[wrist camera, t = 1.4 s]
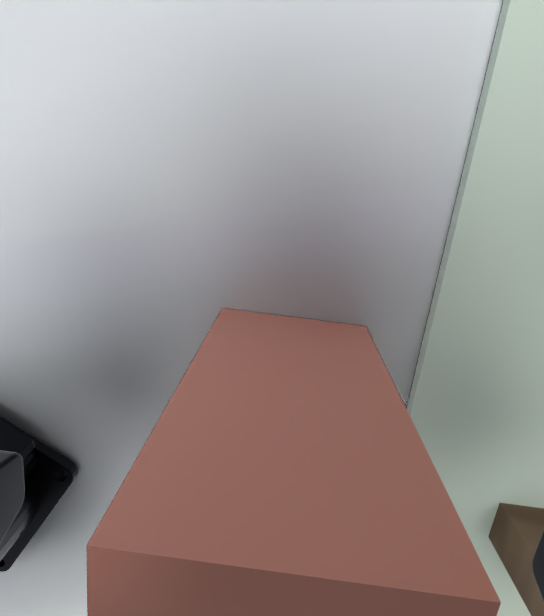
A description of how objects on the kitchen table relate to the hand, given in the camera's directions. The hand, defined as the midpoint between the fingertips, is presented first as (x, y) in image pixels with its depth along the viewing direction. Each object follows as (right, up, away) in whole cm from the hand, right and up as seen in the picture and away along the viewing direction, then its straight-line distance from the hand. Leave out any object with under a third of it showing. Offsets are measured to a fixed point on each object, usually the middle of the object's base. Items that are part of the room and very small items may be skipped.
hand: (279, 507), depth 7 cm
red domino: (+1, +2, +8) cm, 8 cm away
